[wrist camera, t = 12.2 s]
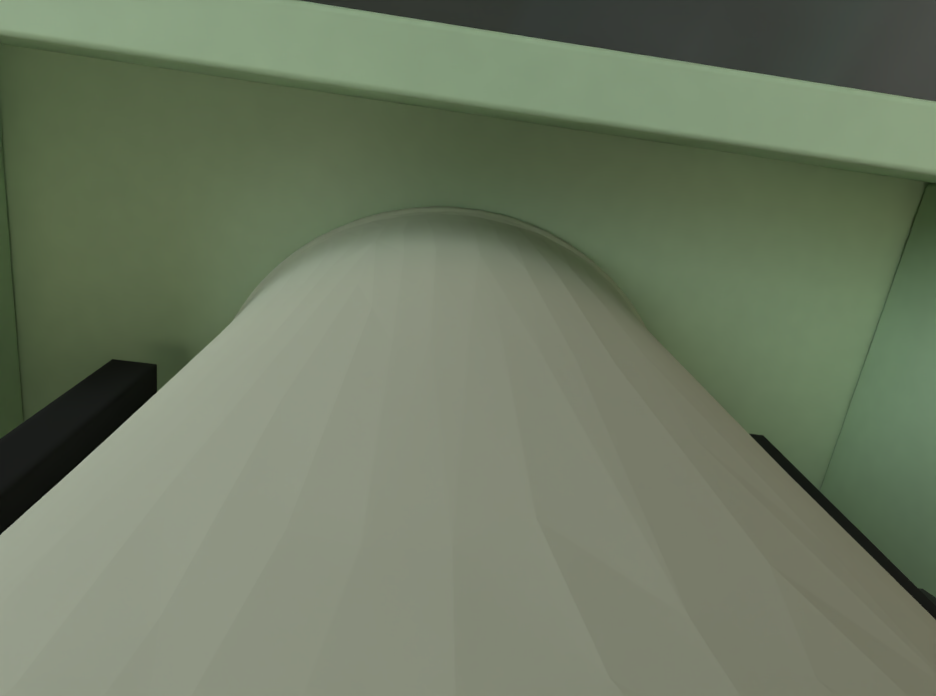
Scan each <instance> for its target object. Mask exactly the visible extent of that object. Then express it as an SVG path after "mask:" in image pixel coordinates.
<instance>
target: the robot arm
mask: <svg viewBox="0 0 936 696" xmlns="http://www.w3.org/2000/svg"><path fill="white" fill-rule="evenodd" d="M156 393H157V364H150V363H142V362H133V361H124V360H116V359H112V360H110V361H109V362H108V363H106V364H105V365H103V366H102V367H101V368H99V369H98V370H96V371H95V372H94V373H92V374H91V375H89V376H88V377H86V378H85V379H84V380H82V381H81V382H79V383H78V384H77V385H75V386H74V387H72V388H71V389H70V390H68V391H67V392H65V393H64V394H62V395H61V396H60V397H58V398H57V399H55V400H54V401H53V402H51V403H50V404H48V405H47V406H46V407H44V408H43V409H41V410H40V411H39V412H37V413H36V414H34V415H33V416H31V417H30V418H29V419H27V420H26V421H24V422H23V423H22V424H20V425H19V426H17V427H16V428H15V429H13V430H12V431H10V432H9V433H8V434H6V435H5V436H3V437H2V438H0V535H1V534H2V533H3V532H4V531H5V530H6V529H7V528H9V527H10V526H11V525H12V524H13V523H14V522H15V521H16V520H18V519H19V518H20V517H21V516H22V515H23V514H24V513H25V512H26V511H28V510H29V509H30V508H31V507H32V506H33V505H34V504H35V503H37V502H38V501H39V500H40V499H41V498H42V497H43V496H44V495H45V494H47V493H48V492H49V491H50V490H51V489H52V488H53V487H54V486H56V485H57V484H58V483H59V482H60V481H61V480H62V479H63V478H64V477H65V476H66V475H68V474H69V473H70V472H71V471H72V470H73V469H74V468H75V467H76V466H77V465H79V464H80V463H81V462H82V461H83V460H84V459H85V458H86V457H87V456H88V455H90V454H91V453H92V452H93V451H94V450H95V449H96V448H97V447H98V446H99V445H100V444H102V443H103V442H104V441H105V440H106V439H107V438H108V437H109V436H110V435H111V434H113V433H114V432H115V431H116V430H117V429H118V428H119V427H120V426H121V425H122V424H123V423H124V422H125V421H127V420H128V419H129V418H130V417H131V416H132V415H133V414H134V413H135V412H136V411H137V410H138V409H139V408H140V407H142V406H143V405H144V404H145V403H146V402H147V401H148V400H149V399H150V398H151V397H152V396H153V395H154V394H156ZM749 435H750V436H751V437H752V438H753V439H754V440H755V441H756V442H757V443H758V444H759V445H760V446H761V447H762V448H763V449H764V450H765V451H766V452H767V453H768V454H769V455H770V456H771V457H772V458H773V459H774V460H775V461H776V462H777V463H778V464H779V465H780V466H781V467H782V468H783V469H784V470H785V471H786V472H787V474H788V475H789V476H791V477H792V478H793V479H794V480H795V481H796V482H797V483H798V484H799V485H800V486H801V487H802V488H803V489H804V490H805V491H806V492H807V493H808V494H809V495H810V496H811V497H812V498H813V499H814V500H815V501H816V502H817V503H818V504H819V505H820V506H821V507H822V508H823V509H824V510H825V511H826V512H827V513H828V514H829V515H830V516H831V517H832V518H833V519H834V520H835V521H836V522H837V523H838V524H839V525H840V526H841V527H842V528H843V529H844V530H845V531H846V532H847V533H848V534H849V535H850V536H851V537H852V538H853V539H854V540H855V541H856V542H857V543H858V544H859V545H860V546H861V547H862V548H863V549H864V550H865V551H866V552H867V553H869V554H870V555H871V556H872V557H873V558H874V559H875V560H876V561H877V562H878V563H879V564H880V565H881V566H882V567H883V568H884V569H885V570H886V571H887V572H888V573H889V574H890V575H891V576H892V577H893V578H894V579H895V580H896V581H897V582H898V583H899V584H900V585H901V586H902V587H903V588H904V589H905V590H906V591H907V592H908V593H909V594H910V595H911V596H912V597H913V598H914V599H915V600H916V601H917V602H918V603H919V604H920V605H921V606H922V607H923V608H924V609H925V610H926V611H927V612H928V613H929V614H930V615H931V616H932V617H933V618H934V619H935V620H936V597H934V596H933V595H931V594H930V593H928V592H927V591H925V590H924V589H920V588H917V587H916V586H915V585H914V584H913V583H912V582H911V581H910V580H909V579H908V578H907V577H906V576H905V575H904V574H903V573H902V572H901V571H900V570H899V569H898V568H897V567H896V566H895V565H894V564H893V563H892V562H891V561H890V560H889V559H888V558H887V557H886V556H885V555H884V554H883V553H882V552H881V551H880V550H879V549H878V548H877V547H876V546H875V545H874V544H873V543H872V542H871V541H870V540H869V539H868V538H867V537H866V536H865V535H864V534H863V533H862V532H861V531H860V530H859V529H858V528H857V527H856V526H855V525H854V524H852V523H851V522H850V521H849V520H848V519H847V518H846V517H845V516H844V515H843V514H842V513H841V512H840V511H839V510H838V509H837V508H836V507H835V506H834V505H833V504H832V503H831V502H830V501H829V500H828V499H827V498H826V497H825V496H824V495H823V494H822V493H821V492H820V491H819V490H818V489H817V488H816V487H815V486H814V485H813V484H812V483H811V482H810V481H809V480H808V479H807V478H806V477H805V476H804V475H803V474H802V473H801V472H800V471H799V470H798V469H797V468H796V467H795V466H794V465H793V464H792V463H791V462H790V461H789V460H788V459H787V458H786V457H785V456H784V455H783V454H782V453H781V452H780V451H779V450H778V449H777V448H776V447H775V446H774V445H773V444H772V443H771V442H770V441H769V440H768V439H767V438H765V437H764V436H763V435H757V434H749Z"/></svg>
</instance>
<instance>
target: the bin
mask: <svg viewBox="0 0 936 696" xmlns="http://www.w3.org/2000/svg"><path fill="white" fill-rule="evenodd" d="M430 206H443V207H460V208H468V209H477V210H482V211H487V212H491V213H496V214H501V215H505V216H508V217H511V218H514V219H517V220H520V221H523V222H526V223H529V224H532V225H534V226H536V227H538V228H540V229H542V230H544V231H546V232H548V233H550V234H552V235H554V236H556V237H558V238H559V239H561V240H563V241H565V242H567V243H568V244H570V245H572V246H573V247H574V248H576V249H577V250H578V251H580V252H581V253H582V254H584V255H585V256H586V257H588V258H589V259H591V260H592V261H593V262H594V263H596V264H597V265H598V266H599V267H600V268H601V269H602V270H603V271H604V272H605V273H606V274H607V275H608V276H609V277H611V279H612V280H613V281H614V282H615V283H616V284H617V285H618V286H619V287H620V289H621V290H622V291H623V292H624V294H625V295H626V296H627V298H628V299H629V300H630V302H631V303H632V304H633V306H634V307H635V309H636V310H637V312H638V314H639V316H640V317H641V319H642V321H643V322H644V324H645V326H646V328H647V330H648V331H649V332H650V333H651V334H652V335H653V336H654V337H655V338H656V339H657V340H658V341H659V342H660V343H661V344H662V345H663V346H664V347H665V348H666V349H667V350H668V351H669V353H670V354H671V355H672V356H673V357H674V358H675V359H676V360H677V361H678V362H679V363H680V364H681V365H682V366H683V367H684V368H685V369H686V370H687V371H688V372H689V373H690V374H691V375H692V376H693V377H694V378H695V379H696V380H697V381H698V382H699V383H700V384H701V385H702V386H703V387H704V388H705V389H706V390H707V391H708V393H709V394H710V395H711V396H712V397H713V398H714V399H715V400H716V401H717V402H718V403H719V404H720V405H721V406H722V407H723V408H724V409H725V410H726V411H727V412H728V413H729V414H730V415H731V416H732V417H733V418H734V419H735V420H736V421H737V422H738V423H739V424H740V425H741V426H742V427H743V428H744V429H745V430H746V431H747V432H748V434H757V435H763V436H764V437H765V438H767V439H768V440H769V441H770V442H771V443H772V444H773V445H774V446H775V447H776V448H777V449H778V450H779V451H780V452H781V453H782V454H783V455H784V456H785V457H786V458H787V459H788V460H789V461H790V462H791V463H792V464H793V465H794V466H795V467H796V468H797V469H798V470H799V471H800V472H801V473H802V474H803V475H804V476H805V477H806V478H807V479H808V480H809V481H810V482H811V483H812V484H813V485H814V486H815V487H816V488H817V489H818V490H819V491H820V492H821V493H822V494H823V495H824V496H825V497H826V498H827V499H828V500H829V501H830V502H831V503H832V504H833V505H834V506H835V507H836V508H837V509H838V510H839V511H840V512H841V513H842V514H843V515H844V516H845V517H846V518H847V519H848V520H849V521H850V522H851V523H852V524H854V525H855V526H856V527H857V528H858V529H859V530H860V531H861V532H862V533H863V534H864V535H865V536H866V537H867V538H868V539H869V540H870V541H871V542H872V543H873V544H874V545H875V546H876V547H877V548H878V549H879V550H880V551H881V552H882V553H883V554H884V555H885V556H886V557H887V558H888V559H889V560H890V561H891V562H892V563H893V564H894V565H895V566H896V567H897V568H898V569H899V570H900V571H901V572H902V573H903V574H904V575H905V576H906V577H907V578H908V579H909V580H910V581H911V582H912V583H913V584H914V585H915V586H916V587H917V588H920V589H924V590H925V591H927V592H928V593H930V594H931V595H933V596H934V597H936V101H930V100H924V99H917V98H911V97H905V96H898V95H892V94H886V93H879V92H873V91H867V90H861V89H854V88H848V87H842V86H835V85H829V84H823V83H816V82H810V81H804V80H798V79H791V78H785V77H779V76H772V75H766V74H760V73H754V72H747V71H741V70H735V69H728V68H722V67H716V66H709V65H703V64H697V63H691V62H684V61H678V60H672V59H665V58H659V57H653V56H646V55H640V54H634V53H628V52H621V51H615V50H609V49H602V48H596V47H590V46H584V45H577V44H571V43H565V42H558V41H552V40H546V39H539V38H533V37H527V36H521V35H514V34H508V33H502V32H495V31H489V30H483V29H476V28H470V27H464V26H458V25H451V24H445V23H439V22H432V21H426V20H420V19H414V18H407V17H401V16H395V15H388V14H382V13H376V12H369V11H363V10H357V9H351V8H344V7H338V6H332V5H325V4H319V3H313V2H306V1H300V0H0V438H2V437H3V436H5V435H6V434H8V433H9V432H10V431H12V430H13V429H15V428H16V427H17V426H19V425H20V424H22V423H23V422H24V421H26V420H27V419H29V418H30V417H31V416H33V415H34V414H36V413H37V412H39V411H40V410H41V409H43V408H44V407H46V406H47V405H48V404H50V403H51V402H53V401H54V400H55V399H57V398H58V397H60V396H61V395H62V394H64V393H65V392H67V391H68V390H70V389H71V388H72V387H74V386H75V385H77V384H78V383H79V382H81V381H82V380H84V379H85V378H86V377H88V376H89V375H91V374H92V373H94V372H95V371H96V370H98V369H99V368H101V367H102V366H103V365H105V364H106V363H108V362H109V361H110V360H112V359H116V360H124V361H133V362H142V363H150V364H157V392H158V391H159V390H160V389H161V388H162V387H163V386H164V385H165V384H166V383H167V382H168V381H169V380H171V379H172V378H173V377H174V376H175V375H176V374H177V373H178V372H179V371H180V370H181V369H182V368H183V367H185V366H186V365H187V364H188V363H189V362H190V361H191V360H192V359H193V358H194V357H195V356H196V355H197V354H199V353H200V352H201V351H202V350H203V349H204V348H205V347H206V346H207V345H208V344H209V343H210V342H211V341H212V340H214V339H215V338H216V337H217V336H218V335H219V334H220V333H221V332H222V331H223V330H224V329H225V328H226V327H227V326H228V325H229V324H230V323H231V322H232V321H233V319H234V318H235V316H236V315H237V313H238V311H239V310H240V308H241V307H242V305H243V304H244V302H245V301H246V300H247V298H248V297H249V296H250V294H251V293H252V292H253V290H254V289H255V288H256V287H257V286H258V285H259V284H260V282H261V281H262V280H263V279H264V278H265V277H266V276H267V275H268V274H269V273H270V272H271V271H272V270H273V269H274V268H275V267H277V266H278V265H279V264H280V263H281V262H282V261H284V260H285V259H286V258H287V257H289V256H290V255H291V254H292V253H294V252H295V251H297V250H298V249H300V248H301V247H302V246H304V245H305V244H307V243H309V242H310V241H312V240H314V239H315V238H317V237H319V236H321V235H323V234H325V233H327V232H329V231H331V230H334V229H336V228H338V227H341V226H343V225H345V224H348V223H350V222H352V221H355V220H358V219H361V218H364V217H367V216H370V215H374V214H379V213H383V212H387V211H393V210H400V209H406V208H416V207H430Z"/></svg>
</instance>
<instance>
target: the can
mask: <svg viewBox="0 0 936 696" xmlns="http://www.w3.org/2000/svg"><path fill="white" fill-rule="evenodd" d="M0 696H936V620H935V619H934V618H933V617H932V616H931V615H930V614H929V613H928V612H927V611H926V610H925V609H924V608H923V607H922V606H921V605H920V604H919V603H918V602H917V601H916V600H915V599H914V598H913V597H912V596H911V595H910V594H909V593H908V592H907V591H906V590H905V589H904V588H903V587H902V586H901V585H900V584H899V583H898V582H897V581H896V580H895V579H894V578H893V577H892V576H891V575H890V574H889V573H888V572H887V571H886V570H885V569H884V568H883V567H882V566H881V565H880V564H879V563H878V562H877V561H876V560H875V559H874V558H873V557H872V556H871V555H870V554H869V553H867V552H866V551H865V550H864V549H863V548H862V547H861V546H860V545H859V544H858V543H857V542H856V541H855V540H854V539H853V538H852V537H851V536H850V535H849V534H848V533H847V532H846V531H845V530H844V529H843V528H842V527H841V526H840V525H839V524H838V523H837V522H836V521H835V520H834V519H833V518H832V517H831V516H830V515H829V514H828V513H827V512H826V511H825V510H824V509H823V508H822V507H821V506H820V505H819V504H818V503H817V502H816V501H815V500H814V499H813V498H812V497H811V496H810V495H809V494H808V493H807V492H806V491H805V490H804V489H803V488H802V487H801V486H800V485H799V484H798V483H797V482H796V481H795V480H794V479H793V478H792V477H791V476H789V475H788V474H787V472H786V471H785V470H784V469H783V468H782V467H781V466H780V465H779V464H778V463H777V462H776V461H775V460H774V459H773V458H772V457H771V456H770V455H769V454H768V453H767V452H766V451H765V450H764V449H763V448H762V447H761V446H760V445H759V444H758V443H757V442H756V441H755V440H754V439H753V438H752V437H751V436H750V435H749V434H748V432H747V431H746V430H745V429H744V428H743V427H742V426H741V425H740V424H739V423H738V422H737V421H736V420H735V419H734V418H733V417H732V416H731V415H730V414H729V413H728V412H727V411H726V410H725V409H724V408H723V407H722V406H721V405H720V404H719V403H718V402H717V401H716V400H715V399H714V398H713V397H712V396H711V395H710V394H709V393H708V391H707V390H706V389H705V388H704V387H703V386H702V385H701V384H700V383H699V382H698V381H697V380H696V379H695V378H694V377H693V376H692V375H691V374H690V373H689V372H688V371H687V370H686V369H685V368H684V367H683V366H682V365H681V364H680V363H679V362H678V361H677V360H676V359H675V358H674V357H673V356H672V355H671V354H670V353H669V351H668V350H667V349H666V348H665V347H664V346H663V345H662V344H661V343H660V342H659V341H658V340H657V339H656V338H655V337H654V336H653V335H652V334H651V333H650V332H649V331H648V330H647V328H646V326H645V324H644V322H643V321H642V319H641V317H640V316H639V314H638V312H637V310H636V309H635V307H634V306H633V304H632V303H631V302H630V300H629V299H628V298H627V296H626V295H625V294H624V292H623V291H622V290H621V289H620V287H619V286H618V285H617V284H616V283H615V282H614V281H613V280H612V279H611V277H609V276H608V275H607V274H606V273H605V272H604V271H603V270H602V269H601V268H600V267H599V266H598V265H597V264H596V263H594V262H593V261H592V260H591V259H589V258H588V257H586V256H585V255H584V254H582V253H581V252H580V251H578V250H577V249H576V248H574V247H573V246H572V245H570V244H568V243H567V242H565V241H563V240H561V239H559V238H558V237H556V236H554V235H552V234H550V233H548V232H546V231H544V230H542V229H540V228H538V227H536V226H534V225H532V224H529V223H526V222H523V221H520V220H517V219H514V218H511V217H508V216H505V215H501V214H496V213H491V212H487V211H482V210H477V209H468V208H460V207H443V206H430V207H416V208H406V209H400V210H393V211H387V212H383V213H379V214H374V215H370V216H367V217H364V218H361V219H358V220H355V221H352V222H350V223H348V224H345V225H343V226H341V227H338V228H336V229H334V230H331V231H329V232H327V233H325V234H323V235H321V236H319V237H317V238H315V239H314V240H312V241H310V242H309V243H307V244H305V245H304V246H302V247H301V248H300V249H298V250H297V251H295V252H294V253H292V254H291V255H290V256H289V257H287V258H286V259H285V260H284V261H282V262H281V263H280V264H279V265H278V266H277V267H275V268H274V269H273V270H272V271H271V272H270V273H269V274H268V275H267V276H266V277H265V278H264V279H263V280H262V281H261V282H260V284H259V285H258V286H257V287H256V288H255V289H254V290H253V292H252V293H251V294H250V296H249V297H248V298H247V300H246V301H245V302H244V304H243V305H242V307H241V308H240V310H239V311H238V313H237V315H236V316H235V318H234V319H233V321H232V322H231V323H230V324H229V325H228V326H227V327H226V328H225V329H224V330H223V331H222V332H221V333H220V334H219V335H218V336H217V337H216V338H215V339H214V340H212V341H211V342H210V343H209V344H208V345H207V346H206V347H205V348H204V349H203V350H202V351H201V352H200V353H199V354H197V355H196V356H195V357H194V358H193V359H192V360H191V361H190V362H189V363H188V364H187V365H186V366H185V367H183V368H182V369H181V370H180V371H179V372H178V373H177V374H176V375H175V376H174V377H173V378H172V379H171V380H169V381H168V382H167V383H166V384H165V385H164V386H163V387H162V388H161V389H160V390H159V391H158V392H157V393H156V394H154V395H153V396H152V397H151V398H150V399H149V400H148V401H147V402H146V403H145V404H144V405H143V406H142V407H140V408H139V409H138V410H137V411H136V412H135V413H134V414H133V415H132V416H131V417H130V418H129V419H128V420H127V421H125V422H124V423H123V424H122V425H121V426H120V427H119V428H118V429H117V430H116V431H115V432H114V433H113V434H111V435H110V436H109V437H108V438H107V439H106V440H105V441H104V442H103V443H102V444H100V445H99V446H98V447H97V448H96V449H95V450H94V451H93V452H92V453H91V454H90V455H88V456H87V457H86V458H85V459H84V460H83V461H82V462H81V463H80V464H79V465H77V466H76V467H75V468H74V469H73V470H72V471H71V472H70V473H69V474H68V475H66V476H65V477H64V478H63V479H62V480H61V481H60V482H59V483H58V484H57V485H56V486H54V487H53V488H52V489H51V490H50V491H49V492H48V493H47V494H45V495H44V496H43V497H42V498H41V499H40V500H39V501H38V502H37V503H35V504H34V505H33V506H32V507H31V508H30V509H29V510H28V511H26V512H25V513H24V514H23V515H22V516H21V517H20V518H19V519H18V520H16V521H15V522H14V523H13V524H12V525H11V526H10V527H9V528H7V529H6V530H5V531H4V532H3V533H2V534H1V535H0Z"/></svg>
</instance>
